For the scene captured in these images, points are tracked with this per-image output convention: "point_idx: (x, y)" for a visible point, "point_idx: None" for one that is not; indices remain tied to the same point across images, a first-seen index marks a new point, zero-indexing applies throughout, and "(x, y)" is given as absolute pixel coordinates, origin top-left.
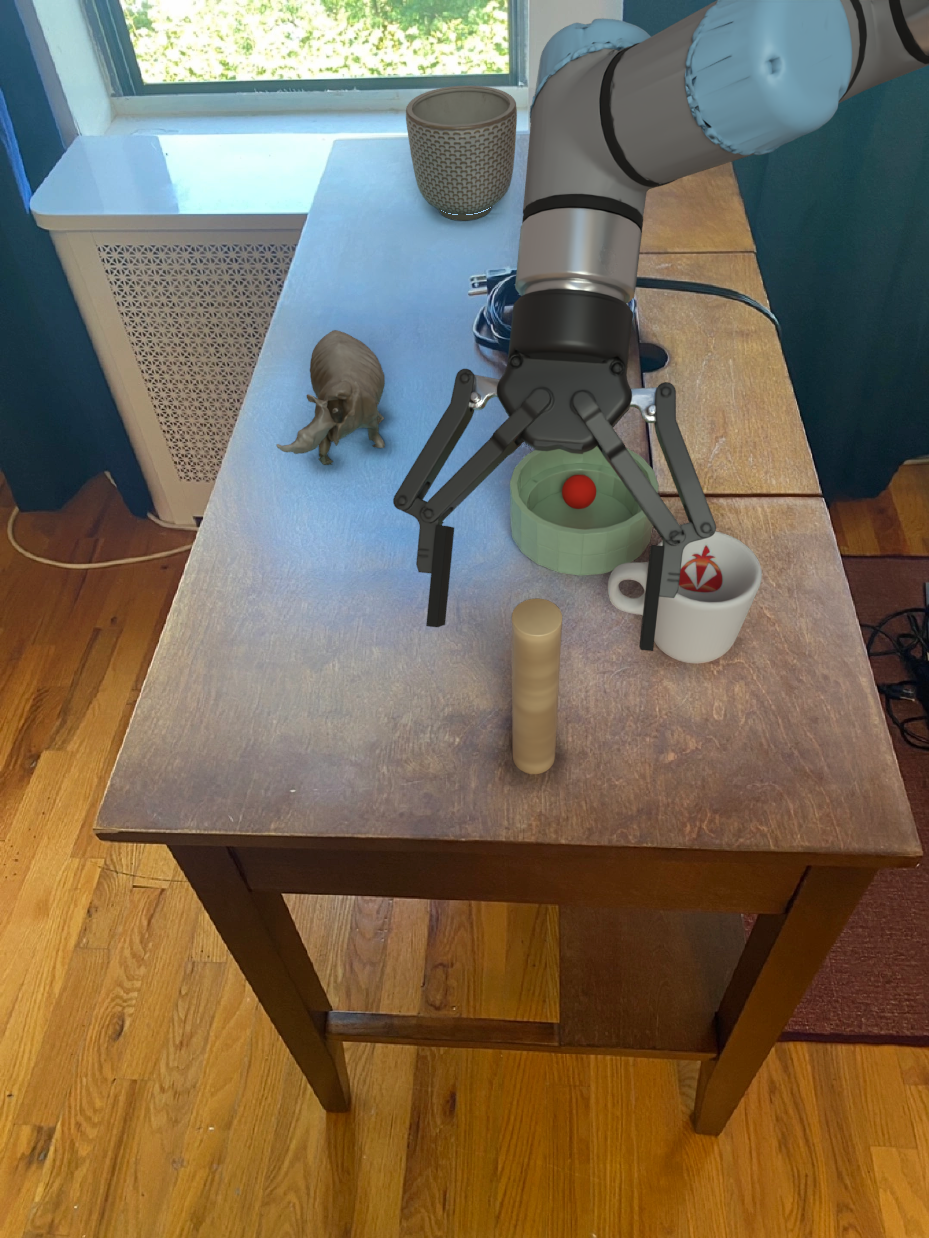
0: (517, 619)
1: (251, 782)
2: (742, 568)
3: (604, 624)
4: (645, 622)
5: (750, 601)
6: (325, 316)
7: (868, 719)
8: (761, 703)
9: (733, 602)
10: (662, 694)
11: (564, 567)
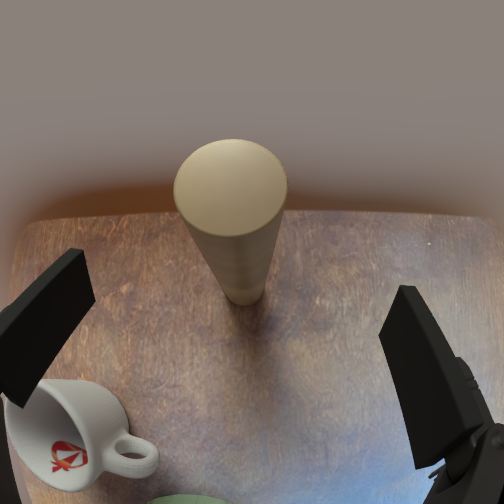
0: (274, 174)
1: (453, 249)
2: (25, 434)
3: (174, 442)
4: (59, 271)
5: None
6: None
7: None
8: None
9: None
10: (123, 356)
11: (215, 502)
